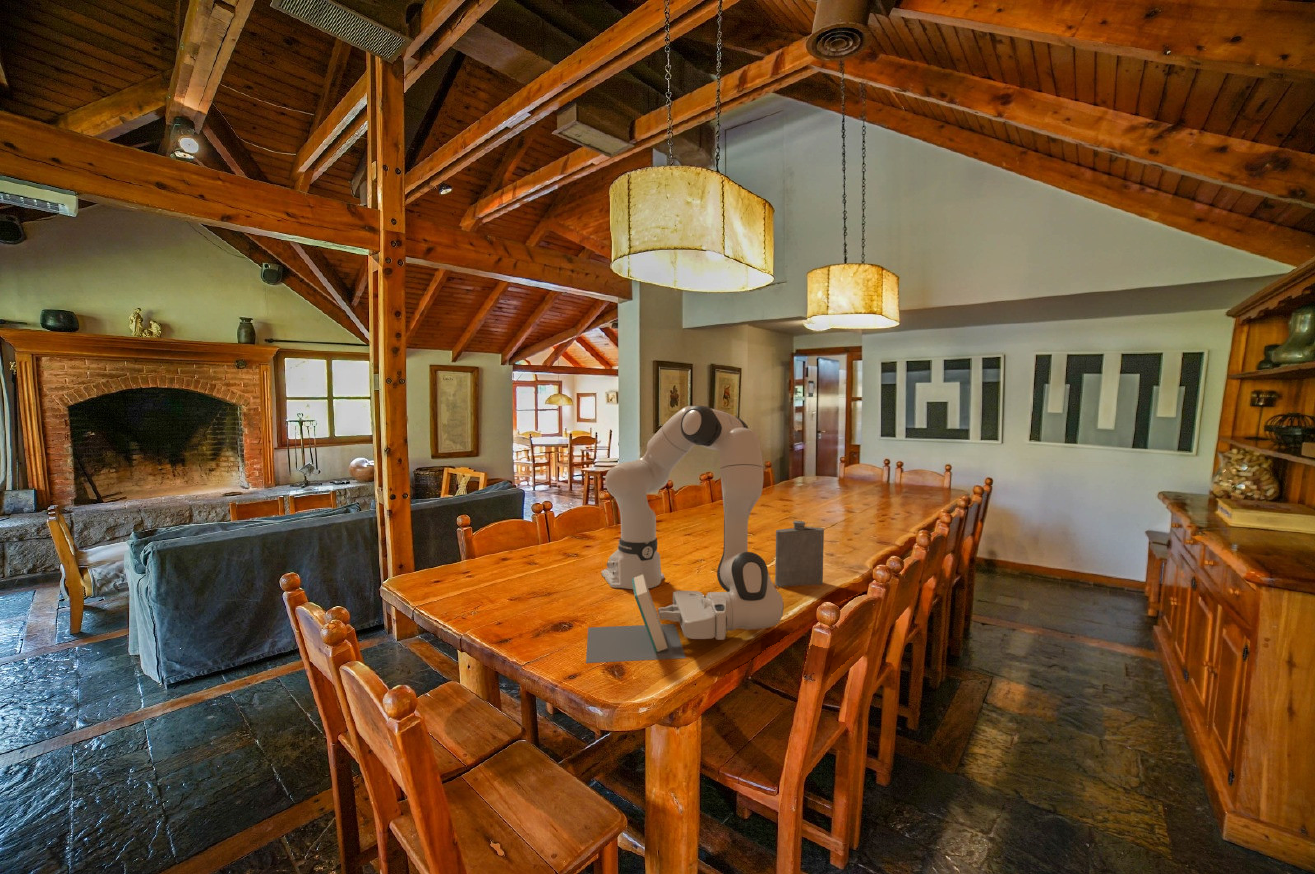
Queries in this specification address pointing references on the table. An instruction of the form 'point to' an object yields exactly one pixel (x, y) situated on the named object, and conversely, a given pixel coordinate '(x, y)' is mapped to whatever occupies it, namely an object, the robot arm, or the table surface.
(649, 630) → the tile
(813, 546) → the hip flask
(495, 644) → the table surface
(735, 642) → the table surface
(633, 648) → the mat
